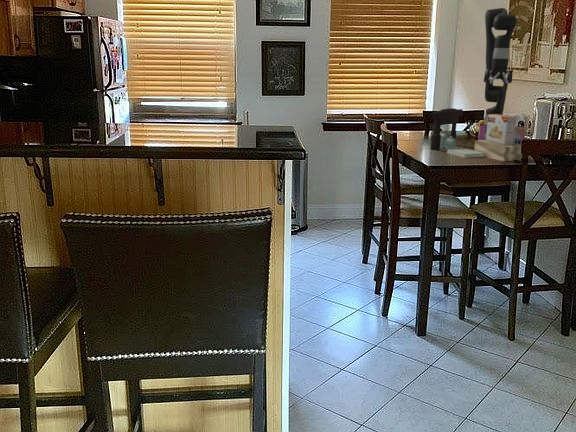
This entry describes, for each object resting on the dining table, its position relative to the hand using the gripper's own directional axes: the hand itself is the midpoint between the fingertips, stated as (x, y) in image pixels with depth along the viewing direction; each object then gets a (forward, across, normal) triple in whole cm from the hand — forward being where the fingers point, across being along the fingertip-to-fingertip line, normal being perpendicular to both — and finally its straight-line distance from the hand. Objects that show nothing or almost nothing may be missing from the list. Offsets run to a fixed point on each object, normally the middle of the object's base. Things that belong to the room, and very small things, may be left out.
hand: (496, 91), depth 284 cm
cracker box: (+32, -3, +3) cm, 33 cm away
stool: (+32, +10, -28) cm, 44 cm away
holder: (+32, -4, +4) cm, 33 cm away
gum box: (+32, -14, -13) cm, 38 cm away
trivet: (+32, +12, -3) cm, 34 cm away
